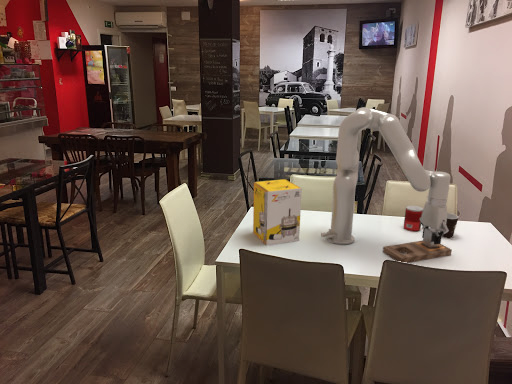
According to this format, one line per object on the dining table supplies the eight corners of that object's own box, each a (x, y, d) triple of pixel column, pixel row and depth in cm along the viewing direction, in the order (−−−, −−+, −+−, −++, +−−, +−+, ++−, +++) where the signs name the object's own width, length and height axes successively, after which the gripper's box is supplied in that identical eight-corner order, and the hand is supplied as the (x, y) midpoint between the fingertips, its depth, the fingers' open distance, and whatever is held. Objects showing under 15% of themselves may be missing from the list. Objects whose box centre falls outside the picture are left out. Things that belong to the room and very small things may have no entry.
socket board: (401, 264, 169) (402, 257, 168) (382, 252, 180) (383, 246, 179) (450, 254, 178) (451, 248, 177) (430, 244, 188) (431, 238, 188)
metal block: (429, 254, 178) (432, 232, 175) (421, 249, 182) (424, 228, 179) (437, 252, 180) (440, 231, 177) (429, 248, 184) (432, 227, 181)
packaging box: (266, 245, 184) (267, 191, 177) (253, 232, 199) (253, 182, 191) (299, 240, 190) (301, 188, 183) (283, 228, 205) (285, 179, 197)
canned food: (422, 231, 203) (425, 210, 199) (406, 231, 203) (408, 210, 200) (417, 226, 210) (420, 205, 207) (401, 225, 210) (403, 205, 207)
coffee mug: (446, 240, 193) (450, 220, 190) (431, 233, 200) (434, 214, 198) (463, 235, 198) (466, 216, 195) (448, 229, 206) (451, 210, 203)
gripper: (415, 196, 181) (410, 234, 186) (445, 208, 165) (439, 250, 171) (429, 194, 183) (423, 232, 189) (460, 206, 168) (453, 247, 173)
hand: (431, 240), depth 180 cm, fingers open, 6 cm apart
